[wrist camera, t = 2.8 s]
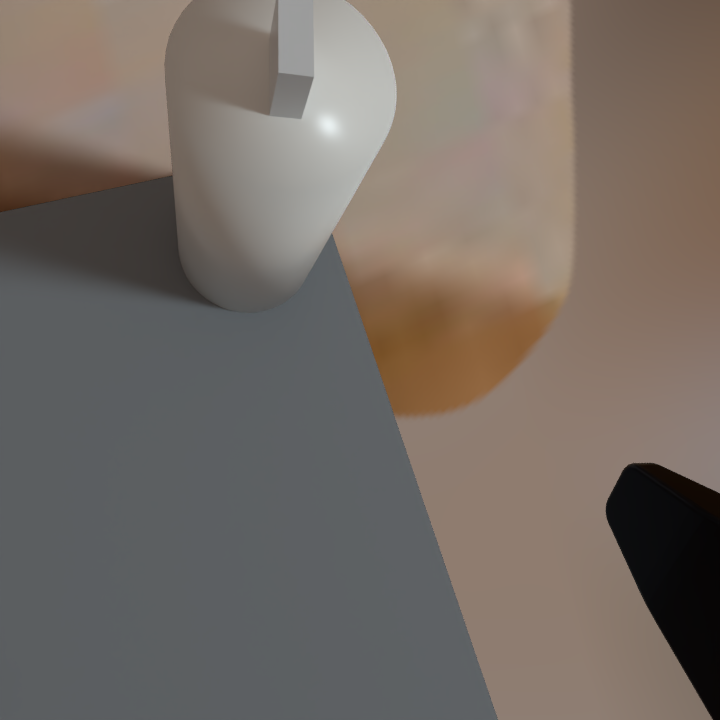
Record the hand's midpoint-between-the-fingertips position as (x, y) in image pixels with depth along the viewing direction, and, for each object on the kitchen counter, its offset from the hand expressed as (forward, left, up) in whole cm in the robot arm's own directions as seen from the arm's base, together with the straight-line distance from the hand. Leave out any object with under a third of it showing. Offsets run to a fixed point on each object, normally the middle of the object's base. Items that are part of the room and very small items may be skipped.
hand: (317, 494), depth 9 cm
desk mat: (-1, +4, -14) cm, 14 cm away
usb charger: (+7, -2, -13) cm, 15 cm away
